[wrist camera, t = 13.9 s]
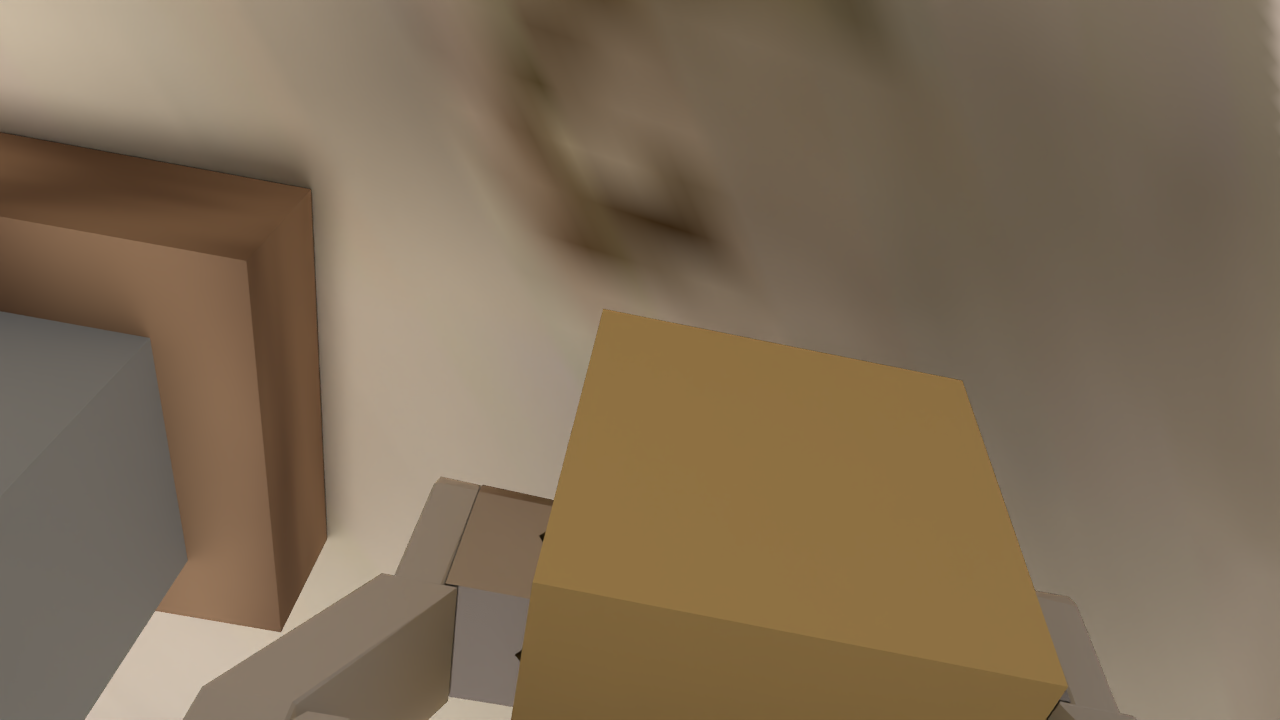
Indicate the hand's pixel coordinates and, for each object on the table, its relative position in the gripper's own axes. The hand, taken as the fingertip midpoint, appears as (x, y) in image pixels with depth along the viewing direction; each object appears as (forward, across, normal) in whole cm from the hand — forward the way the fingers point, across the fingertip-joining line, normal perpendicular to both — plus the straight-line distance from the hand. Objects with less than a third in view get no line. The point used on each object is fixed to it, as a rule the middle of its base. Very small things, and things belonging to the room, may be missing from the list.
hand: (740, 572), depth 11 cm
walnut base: (+8, -14, -5) cm, 17 cm away
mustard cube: (+2, 0, 0) cm, 2 cm away
